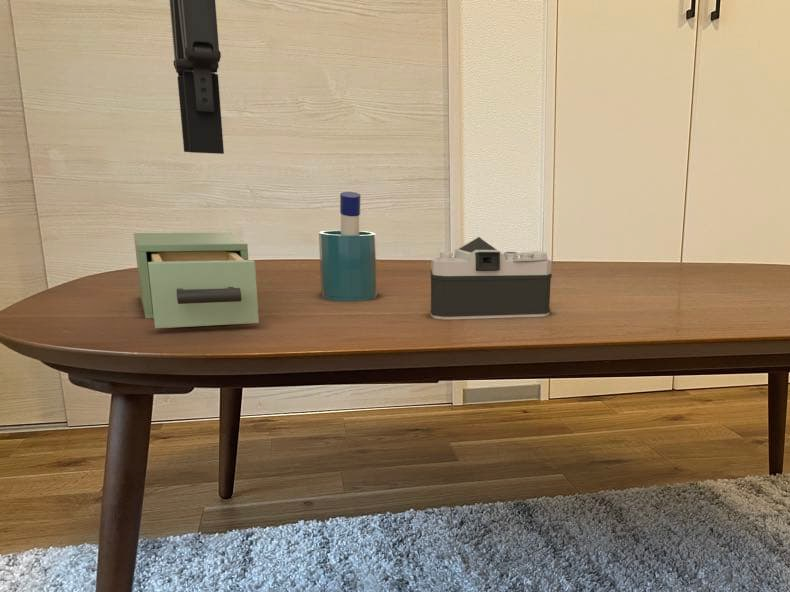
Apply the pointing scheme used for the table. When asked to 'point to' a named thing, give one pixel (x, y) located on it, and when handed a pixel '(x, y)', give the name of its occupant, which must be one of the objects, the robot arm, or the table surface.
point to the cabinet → (178, 243)
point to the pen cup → (348, 266)
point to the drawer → (202, 289)
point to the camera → (489, 283)
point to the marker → (350, 213)
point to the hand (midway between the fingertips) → (203, 152)
